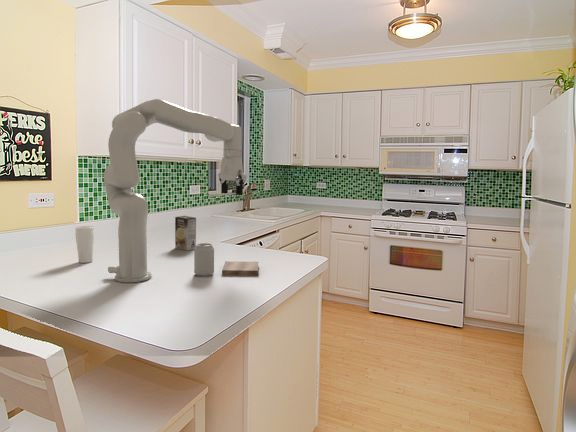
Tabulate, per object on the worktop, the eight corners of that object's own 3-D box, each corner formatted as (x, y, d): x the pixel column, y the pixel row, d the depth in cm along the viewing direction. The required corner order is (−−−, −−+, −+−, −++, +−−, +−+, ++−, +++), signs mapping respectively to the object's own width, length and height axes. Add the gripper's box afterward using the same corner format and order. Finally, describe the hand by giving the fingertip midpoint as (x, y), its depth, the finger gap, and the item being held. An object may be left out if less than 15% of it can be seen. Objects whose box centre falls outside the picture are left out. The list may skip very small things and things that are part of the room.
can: (205, 270, 156) (205, 241, 154) (217, 274, 151) (218, 244, 149) (190, 274, 150) (190, 244, 148) (202, 278, 145) (202, 247, 144)
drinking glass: (97, 262, 164) (96, 227, 162) (80, 264, 159) (78, 228, 157) (91, 259, 168) (89, 225, 166) (74, 261, 163) (72, 226, 161)
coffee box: (174, 248, 195) (174, 216, 193) (184, 246, 201) (184, 215, 199) (187, 250, 191) (187, 218, 189) (196, 248, 196) (196, 217, 194)
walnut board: (222, 275, 150) (222, 270, 150) (225, 265, 164) (225, 261, 164) (258, 275, 151) (258, 270, 151) (258, 266, 165) (258, 261, 165)
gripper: (212, 154, 169) (212, 193, 171) (239, 154, 158) (238, 195, 160) (225, 154, 175) (225, 192, 177) (252, 154, 163) (251, 195, 166)
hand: (231, 194), depth 168 cm, fingers open, 9 cm apart
